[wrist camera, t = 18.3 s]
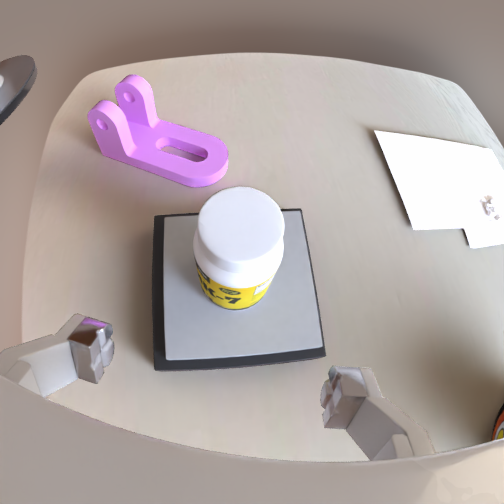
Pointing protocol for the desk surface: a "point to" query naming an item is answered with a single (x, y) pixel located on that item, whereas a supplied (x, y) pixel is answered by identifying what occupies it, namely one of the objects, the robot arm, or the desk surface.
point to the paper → (448, 185)
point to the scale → (231, 322)
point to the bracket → (154, 137)
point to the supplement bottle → (238, 246)
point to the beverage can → (499, 426)
